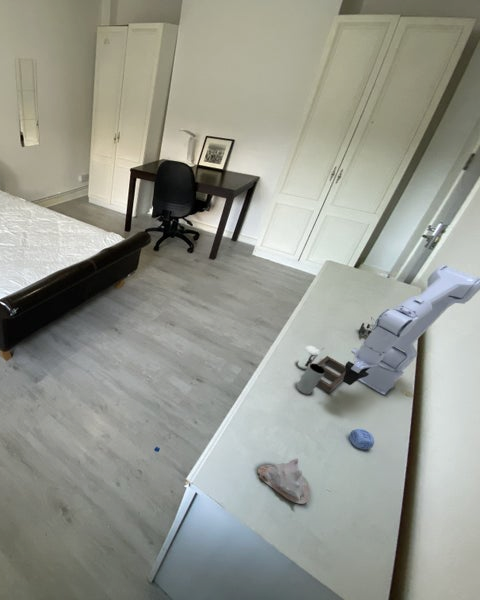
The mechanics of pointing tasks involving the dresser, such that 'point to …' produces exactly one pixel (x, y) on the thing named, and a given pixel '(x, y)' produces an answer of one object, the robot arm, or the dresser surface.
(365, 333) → the clip-on lamp
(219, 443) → the dresser surface
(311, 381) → the grey hollow cylinder
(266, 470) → the seashell
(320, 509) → the dresser surface
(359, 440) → the decorative dice
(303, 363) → the milkshake
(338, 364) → the holder
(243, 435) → the dresser surface
